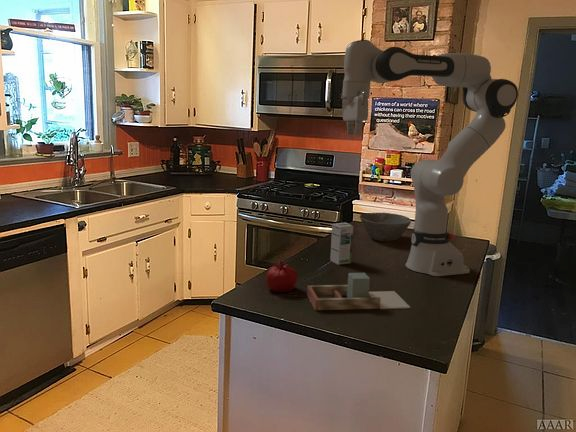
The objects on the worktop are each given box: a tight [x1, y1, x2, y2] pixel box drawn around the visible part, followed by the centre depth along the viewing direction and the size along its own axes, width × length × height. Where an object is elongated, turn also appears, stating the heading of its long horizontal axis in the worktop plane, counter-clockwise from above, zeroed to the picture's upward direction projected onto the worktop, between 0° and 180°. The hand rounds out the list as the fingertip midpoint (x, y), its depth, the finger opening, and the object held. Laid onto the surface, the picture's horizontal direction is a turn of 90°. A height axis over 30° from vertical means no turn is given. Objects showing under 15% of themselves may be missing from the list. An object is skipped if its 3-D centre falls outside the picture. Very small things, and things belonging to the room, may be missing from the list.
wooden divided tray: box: [311, 284, 381, 311], centre depth 142 cm, size 18×11×3 cm, turn 99°
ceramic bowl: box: [359, 212, 412, 243], centre depth 212 cm, size 22×23×10 cm
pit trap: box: [306, 284, 343, 311], centre depth 141 cm, size 9×11×3 cm
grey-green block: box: [346, 272, 371, 298], centre depth 142 cm, size 5×5×8 cm
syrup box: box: [330, 222, 354, 266], centre depth 177 cm, size 6×6×14 cm
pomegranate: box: [265, 260, 299, 293], centre depth 149 cm, size 10×10×9 cm
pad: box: [369, 290, 411, 310], centre depth 144 cm, size 9×12×1 cm
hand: (353, 135), depth 160 cm, fingers open, 8 cm apart
